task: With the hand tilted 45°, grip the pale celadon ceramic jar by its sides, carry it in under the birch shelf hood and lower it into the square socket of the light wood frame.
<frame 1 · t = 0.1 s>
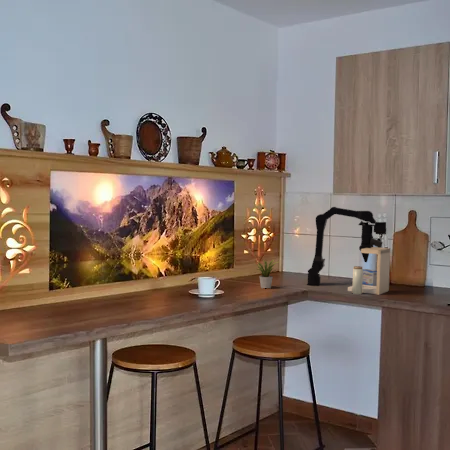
hand: (365, 262, 360), 14 cm above the kitchen counter, tool pointing down, fingers closed
light wood frame: (366, 290, 351), on the kitchen counter
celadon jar: (357, 293, 342), on the kitchen counter
medicine box: (369, 285, 373), on the kitchen counter
house plant: (268, 288, 354), on the kitchen counter
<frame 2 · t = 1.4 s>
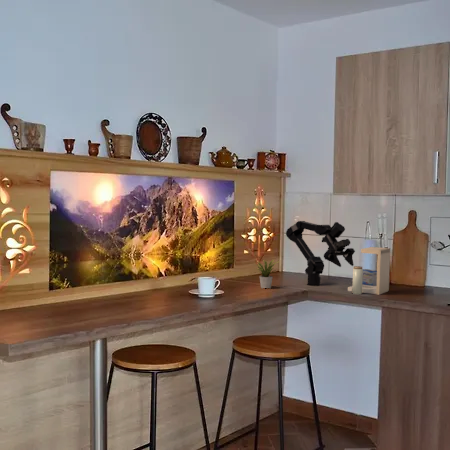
hand: (346, 266, 348), 13 cm above the kitchen counter, tool tilted 45°, fingers open, 9 cm apart
nothing on the kitchen counter moved.
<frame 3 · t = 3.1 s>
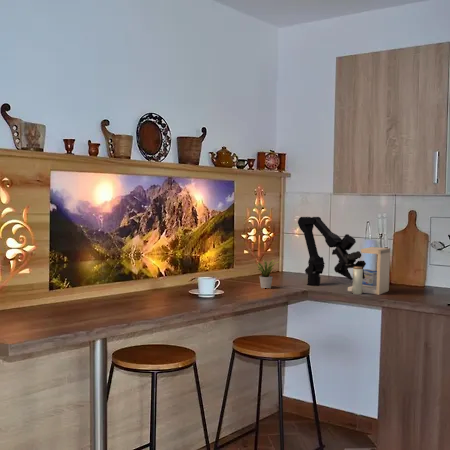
hand: (358, 279, 341), 8 cm above the kitchen counter, tool tilted 45°, fingers open, 9 cm apart
nothing on the kitchen counter moved.
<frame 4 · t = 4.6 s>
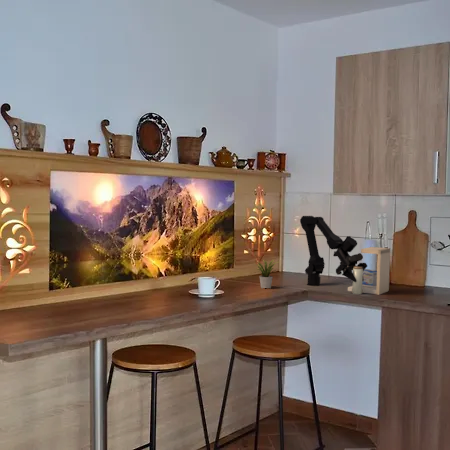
hand: (359, 281, 340), 7 cm above the kitchen counter, tool tilted 45°, fingers closed on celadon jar, 5 cm apart
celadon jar: (357, 293, 342), on the kitchen counter, touching gripper
everything else where it was.
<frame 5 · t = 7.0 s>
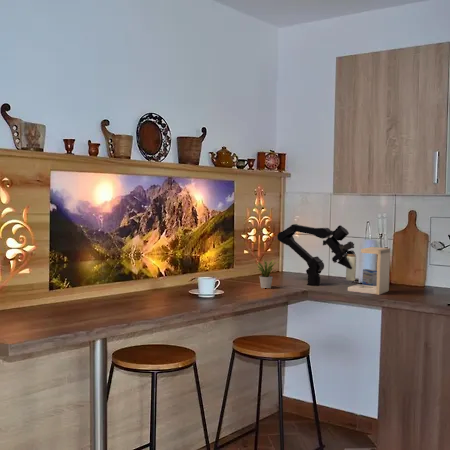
hand: (353, 268, 355), 11 cm above the kitchen counter, tool tilted 45°, fingers closed on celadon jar, 5 cm apart
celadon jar: (350, 280, 356), point 5 cm above the kitchen counter, touching gripper
everything else where it was.
when the fingers open (8 cm above the kitchen counter, at t = 9.8 s): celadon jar drops 1 cm, resting on light wood frame.
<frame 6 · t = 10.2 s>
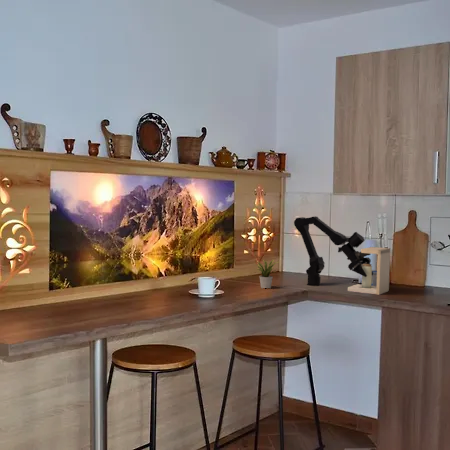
hand: (369, 275, 350), 8 cm above the kitchen counter, tool tilted 45°, fingers open, 9 cm apart
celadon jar: (366, 290, 351), resting on light wood frame
everything else where it was.
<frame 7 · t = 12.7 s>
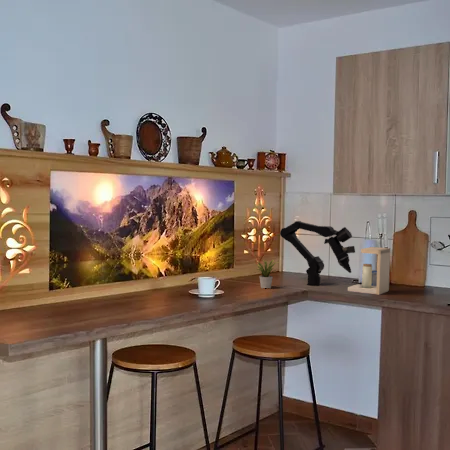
hand: (350, 271, 356), 9 cm above the kitchen counter, tool tilted 35°, fingers open, 9 cm apart
nothing on the kitchen counter moved.
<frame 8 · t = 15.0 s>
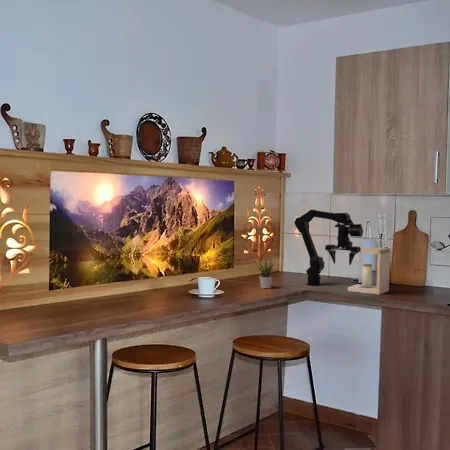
hand: (342, 264, 359), 13 cm above the kitchen counter, tool pointing down, fingers open, 9 cm apart
nothing on the kitchen counter moved.
at the end: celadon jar 0.1 cm off-centre on the light wood frame, point 0.3 cm above the light wood frame's base; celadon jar tilted 0°; the gripper is holding nothing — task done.
